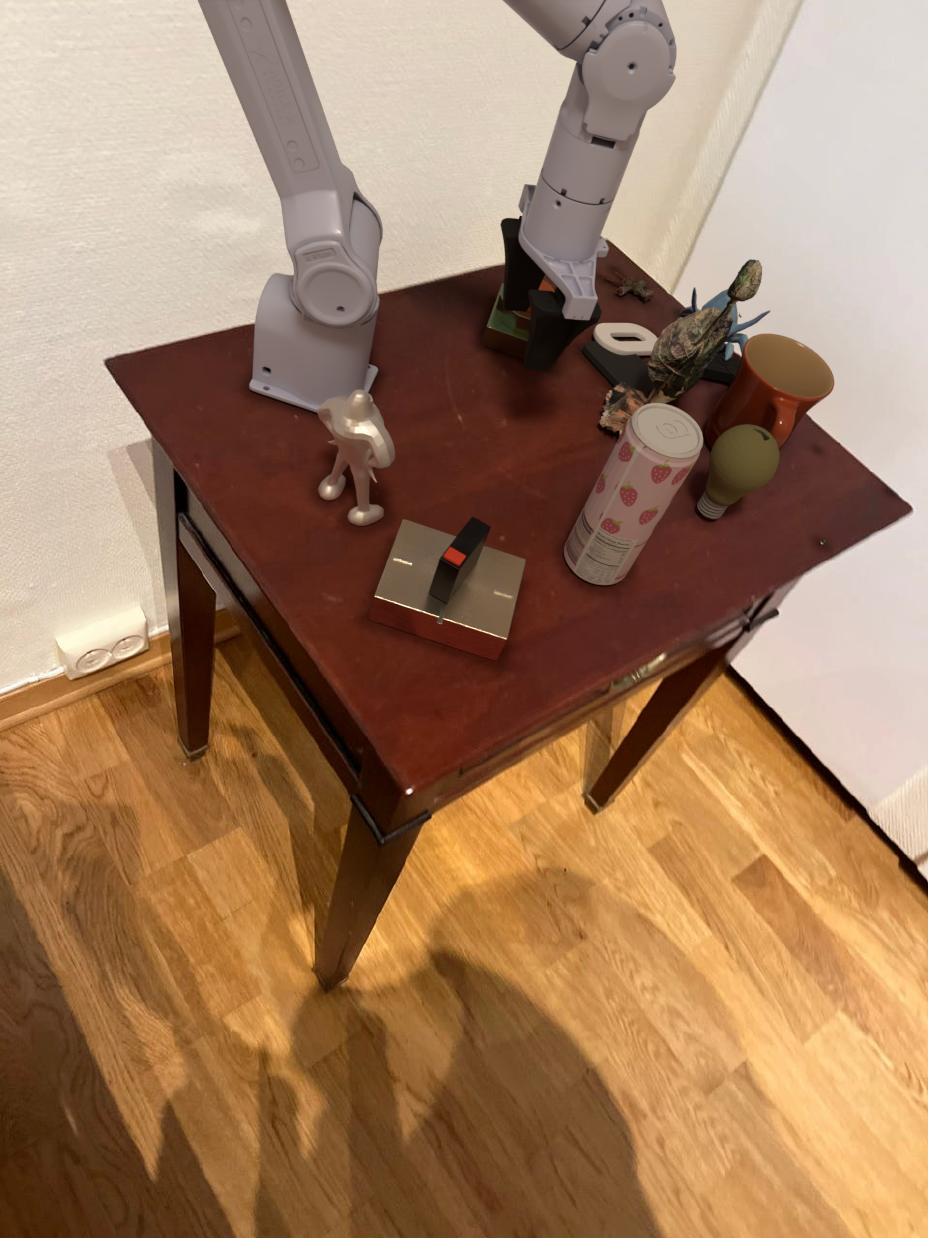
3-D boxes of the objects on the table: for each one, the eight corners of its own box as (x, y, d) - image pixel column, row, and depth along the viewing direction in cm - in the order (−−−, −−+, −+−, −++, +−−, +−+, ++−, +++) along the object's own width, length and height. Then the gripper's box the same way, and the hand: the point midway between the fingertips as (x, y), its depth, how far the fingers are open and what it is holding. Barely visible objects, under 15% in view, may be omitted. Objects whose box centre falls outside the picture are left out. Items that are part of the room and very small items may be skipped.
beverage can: (638, 562, 74) (720, 432, 62) (605, 599, 71) (684, 469, 59) (584, 523, 75) (654, 388, 63) (549, 558, 72) (616, 423, 60)
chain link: (611, 351, 88) (586, 322, 90) (609, 356, 88) (584, 327, 90) (669, 350, 92) (643, 322, 94) (666, 354, 92) (641, 327, 95)
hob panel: (365, 626, 64) (371, 601, 61) (398, 537, 69) (405, 511, 67) (495, 668, 64) (506, 645, 62) (517, 576, 70) (528, 552, 67)
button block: (481, 344, 86) (491, 310, 83) (496, 300, 91) (506, 266, 88) (547, 367, 87) (560, 334, 83) (559, 322, 91) (572, 289, 88)
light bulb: (741, 509, 81) (798, 429, 73) (727, 547, 78) (785, 468, 70) (686, 482, 81) (737, 400, 73) (670, 519, 78) (722, 437, 70)
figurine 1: (393, 520, 70) (421, 407, 61) (356, 545, 68) (379, 431, 58) (331, 468, 72) (349, 350, 63) (293, 490, 70) (306, 372, 60)
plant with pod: (702, 419, 87) (821, 246, 71) (640, 468, 81) (754, 291, 65) (641, 369, 89) (743, 189, 73) (576, 413, 83) (672, 227, 66)
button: (511, 307, 85) (516, 291, 83) (517, 287, 87) (522, 272, 86) (546, 319, 85) (551, 304, 84) (551, 299, 87) (557, 284, 86)
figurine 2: (715, 328, 100) (763, 275, 94) (737, 404, 94) (790, 353, 88) (648, 299, 96) (694, 242, 90) (667, 377, 90) (718, 321, 84)
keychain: (617, 334, 91) (678, 397, 87) (615, 340, 92) (675, 402, 88) (582, 343, 89) (642, 408, 85) (579, 349, 89) (640, 413, 85)
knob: (459, 550, 66) (473, 513, 63) (478, 560, 66) (492, 524, 63) (428, 592, 63) (440, 556, 60) (447, 603, 63) (460, 567, 60)
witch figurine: (665, 283, 98) (659, 299, 99) (583, 235, 102) (578, 250, 103) (639, 294, 94) (633, 309, 96) (555, 243, 98) (551, 259, 100)
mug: (695, 406, 88) (743, 321, 80) (775, 432, 89) (831, 351, 81) (690, 486, 81) (743, 402, 73) (778, 514, 82) (840, 434, 74)
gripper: (660, 247, 60) (592, 397, 71) (599, 136, 68) (547, 287, 79) (566, 237, 58) (511, 394, 69) (515, 124, 66) (473, 281, 77)
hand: (525, 337), depth 74 cm, fingers open, 7 cm apart
